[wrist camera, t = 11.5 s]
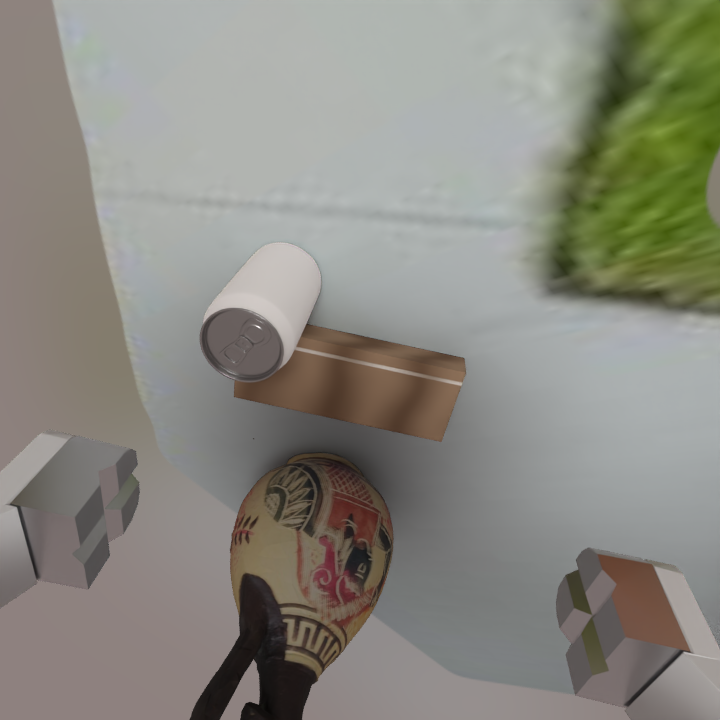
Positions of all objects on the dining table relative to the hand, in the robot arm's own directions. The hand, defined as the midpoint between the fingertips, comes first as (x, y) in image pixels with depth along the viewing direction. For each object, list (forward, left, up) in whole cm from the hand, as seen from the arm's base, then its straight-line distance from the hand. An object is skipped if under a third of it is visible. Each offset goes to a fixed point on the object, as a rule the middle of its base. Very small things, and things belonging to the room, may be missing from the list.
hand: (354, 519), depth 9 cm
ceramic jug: (+2, +33, -33) cm, 47 cm away
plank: (+1, +19, -33) cm, 38 cm away
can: (+8, +11, -33) cm, 36 cm away
